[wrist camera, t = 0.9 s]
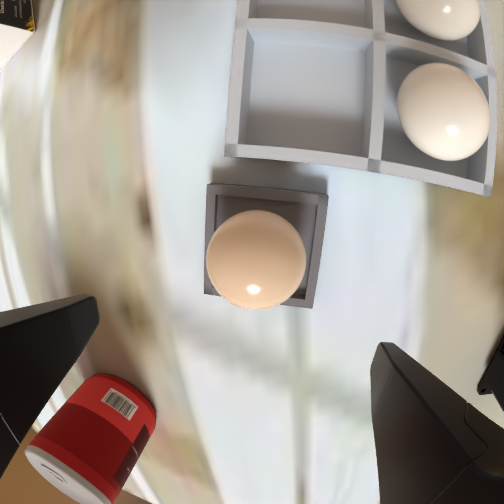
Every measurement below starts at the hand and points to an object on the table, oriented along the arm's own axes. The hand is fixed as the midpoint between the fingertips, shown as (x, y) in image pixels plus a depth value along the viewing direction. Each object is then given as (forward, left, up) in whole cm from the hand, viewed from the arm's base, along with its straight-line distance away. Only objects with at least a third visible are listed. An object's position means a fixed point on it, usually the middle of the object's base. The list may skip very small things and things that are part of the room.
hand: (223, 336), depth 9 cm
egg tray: (-5, -15, -9) cm, 18 cm away
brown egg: (0, 0, -7) cm, 7 cm away
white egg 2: (-8, -8, -7) cm, 13 cm away
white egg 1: (-8, -15, -7) cm, 18 cm away
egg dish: (0, 0, -9) cm, 9 cm away
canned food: (+12, +17, -10) cm, 23 cm away
